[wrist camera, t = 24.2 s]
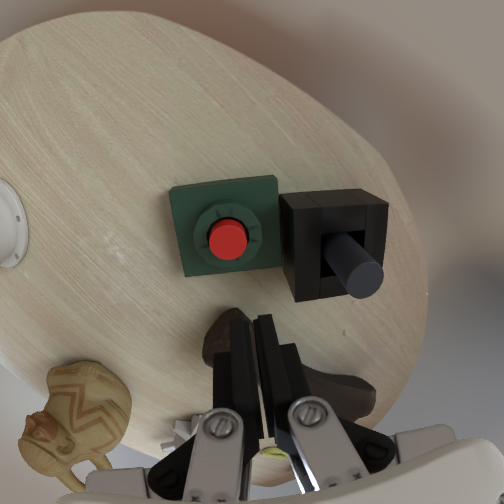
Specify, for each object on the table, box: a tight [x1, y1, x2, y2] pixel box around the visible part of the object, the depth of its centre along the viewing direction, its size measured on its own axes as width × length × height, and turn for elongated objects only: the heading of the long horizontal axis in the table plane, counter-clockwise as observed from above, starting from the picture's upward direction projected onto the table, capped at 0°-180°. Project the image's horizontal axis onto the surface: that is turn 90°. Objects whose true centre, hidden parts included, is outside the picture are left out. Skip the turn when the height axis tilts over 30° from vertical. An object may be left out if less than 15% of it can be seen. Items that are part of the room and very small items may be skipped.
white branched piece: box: [160, 415, 203, 452], centre depth 42 cm, size 10×5×15 cm
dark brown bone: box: [202, 308, 376, 423], centre depth 34 cm, size 11×10×28 cm
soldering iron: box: [321, 232, 384, 299], centre depth 24 cm, size 3×3×11 cm
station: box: [169, 175, 282, 277], centre depth 26 cm, size 10×9×4 cm
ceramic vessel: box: [18, 361, 132, 493], centre depth 26 cm, size 17×20×25 cm
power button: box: [209, 219, 247, 260], centre depth 24 cm, size 3×3×2 cm
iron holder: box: [280, 189, 389, 302], centre depth 27 cm, size 9×9×6 cm
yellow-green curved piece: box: [262, 447, 288, 459], centre depth 49 cm, size 7×12×2 cm, turn 153°
